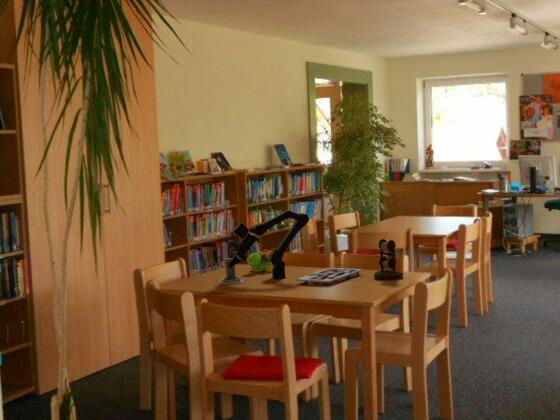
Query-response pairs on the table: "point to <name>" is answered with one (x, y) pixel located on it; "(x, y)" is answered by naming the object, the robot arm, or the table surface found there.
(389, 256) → the dark figurine on base
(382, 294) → the table surface
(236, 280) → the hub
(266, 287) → the table surface
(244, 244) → the robot arm
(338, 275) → the maze game
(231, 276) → the knob
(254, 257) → the turtle toy
